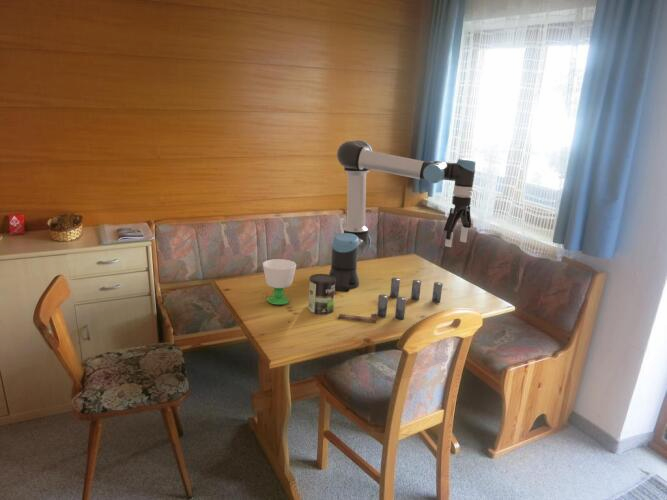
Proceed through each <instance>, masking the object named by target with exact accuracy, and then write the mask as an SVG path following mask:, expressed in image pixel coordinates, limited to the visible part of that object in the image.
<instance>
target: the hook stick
mask: <svg viewBox="0 0 667 500" xmlns="http://www.w3.org/2000/svg"><path fill="white" fill-rule="evenodd" d="M338 319H339V320H347V321H354V322H355V321H356V322H364V323H371V324H376V321H377V313H371V314H370V316H369V317H368V316H362V315H354V314H353V315H352V314H351V315H350V314H345V313H344V314H343V313H339V315H338Z"/></svg>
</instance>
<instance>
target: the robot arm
mask: <svg viewBox="0 0 667 500" xmlns="http://www.w3.org/2000/svg"><path fill="white" fill-rule="evenodd" d="M336 158H337V160H338V162H339V164H340V165H341V166H343V169H344V173H345V174H346V175H347V189H346V191H347V195H346V198H347V199H346V200H347V201H346V203H347V204H346V207H347V208H346V211H347V212H346V216H347V217H346V218H347V219H346V226H345V227H344V228H343V233H339V234H336V235H334V236H333V238H332V242H331V262H330V270H329V273H328V275H331V276H334V277H335V278H336V282H335V291H343V292H344V291H345V292H346V291H348V292H349V291H350V290H354V289H357V288H358V287H359V286H360V280H359V275H358V272H357V267H358V259H359V258H360V257H362V256H364V255H365V254H367V252H368V251H369V250H370V248H371V246H372V238H371V236H370V235H369V228H368V227H367V226H366V206H367V205H366V204H367V203H366V201H367V200H366V199H367V198H366V197H367V193H366V192H367V174H368V173H369V172H370V170H371V171H377V172H382V173H388V174H391V175H392V174H393V175H397V176H402V177H408V178H412V179H417V180H422V181H426V182H427V183H430V184H437V183H440V182H441V181H452V182H453V181H454V184H453V185H454V187H453V196H452V202H451V203H452V205H453V206H454V207H453V208H452V207H451V208H450V209H449V213H448V217H447V220H446V223H445V226H444V227H443V231H445V234H446V235H445V242H444V247H447V248H452V246H453V237H454V232H453V231H454V230H455V227H456V225H457V223H458V221H459V220H461V224H462V227H461V231H460V238H459V242H461V243H462V242H463V243H467V240H468V234H469V233H468V232H469V231H468V230H469V229H470V228H471V226H472V219H471V218H472V217H471V206H470V205H471V202H472V198H471V197H472V192H473V191H474V190H473V185H474V179H475V173H476V161H475V160H474V159H471V158H458V159H457V160H456V162H447V161H440V160H430V161H424V160H419V159H414V158H409V157H403V156H399V155H393V154H389V153H383V152H379V151H373V148H372V147H371V145H370V144H369V143H367V142H366V141H363V140H352V141H351V140H350V141H349V140H348V141H345V142H343V143H341V144H340V145H339V147H338V149H337V151H336Z"/></svg>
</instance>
